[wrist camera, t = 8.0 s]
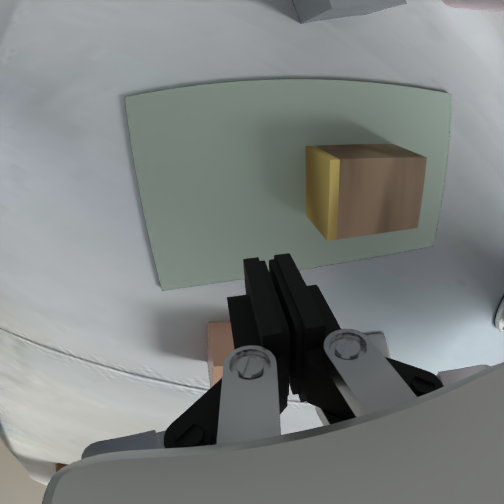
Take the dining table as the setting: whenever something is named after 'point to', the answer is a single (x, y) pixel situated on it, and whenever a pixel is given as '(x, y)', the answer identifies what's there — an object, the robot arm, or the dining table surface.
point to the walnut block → (363, 189)
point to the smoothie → (477, 5)
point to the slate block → (339, 8)
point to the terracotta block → (218, 349)
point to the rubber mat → (269, 169)
